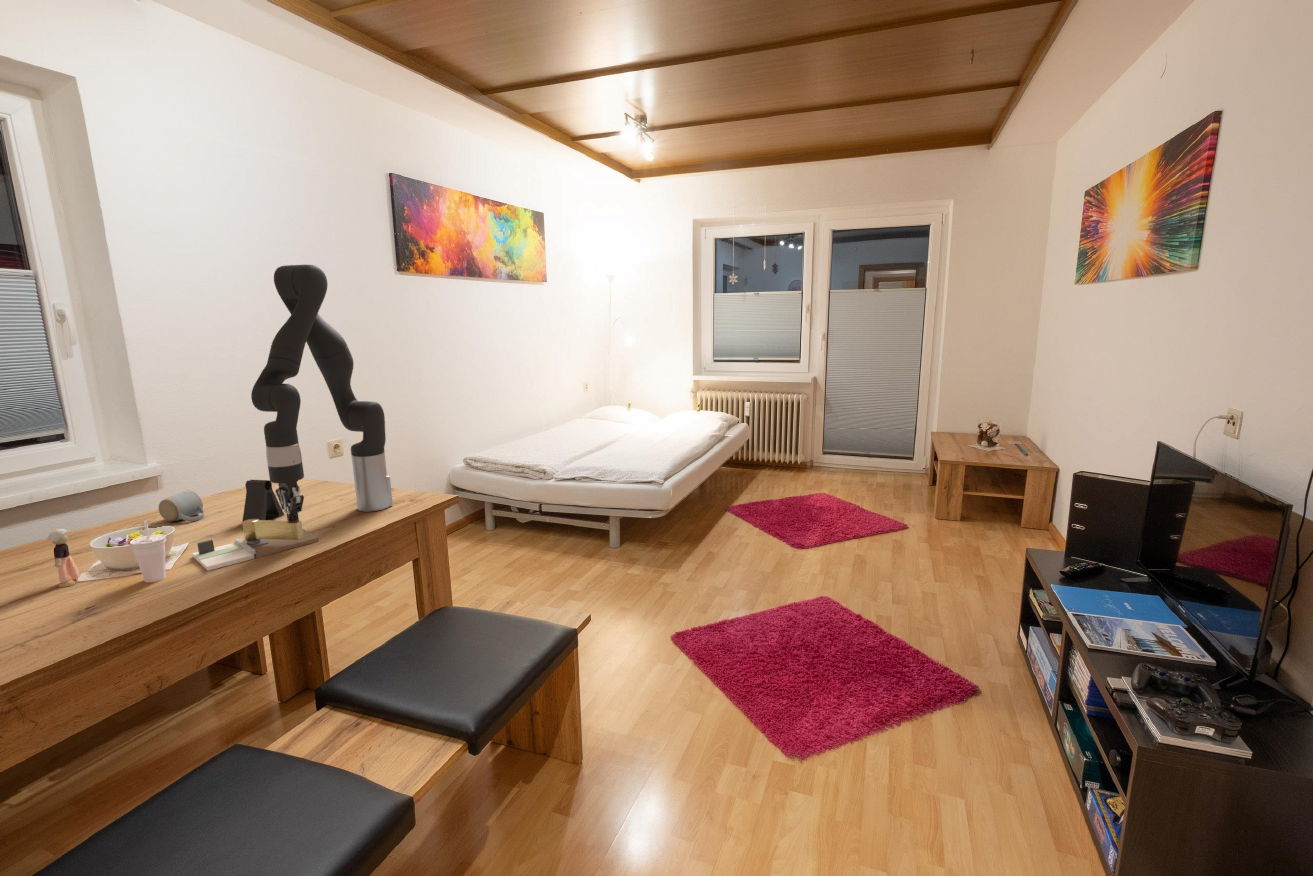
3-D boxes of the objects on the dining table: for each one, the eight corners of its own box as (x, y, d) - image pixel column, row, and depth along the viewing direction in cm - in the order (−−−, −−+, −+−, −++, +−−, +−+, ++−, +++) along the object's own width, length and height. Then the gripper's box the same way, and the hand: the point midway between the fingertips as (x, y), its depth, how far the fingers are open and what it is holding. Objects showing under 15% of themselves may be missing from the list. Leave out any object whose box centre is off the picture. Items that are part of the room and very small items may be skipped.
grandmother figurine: (81, 584, 135) (69, 531, 132) (57, 590, 132) (44, 535, 130) (80, 574, 140) (69, 522, 138) (57, 579, 138) (45, 527, 135)
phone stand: (260, 525, 172) (254, 485, 170) (242, 524, 173) (235, 484, 171) (284, 515, 181) (279, 476, 178) (266, 514, 182) (261, 475, 179)
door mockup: (300, 530, 168) (298, 517, 167) (318, 541, 160) (317, 527, 159) (192, 556, 150) (190, 542, 149) (207, 570, 142) (205, 555, 141)
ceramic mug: (158, 522, 176) (153, 496, 174) (185, 513, 184) (181, 488, 182) (187, 525, 173) (183, 499, 172) (213, 516, 181) (210, 491, 180)
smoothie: (143, 587, 133) (131, 527, 130) (132, 581, 136) (120, 522, 134) (178, 576, 138) (167, 519, 136) (166, 570, 142) (155, 514, 139)
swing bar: (241, 540, 154) (238, 523, 153) (252, 535, 157) (249, 518, 156) (296, 542, 152) (293, 524, 151) (305, 536, 156) (303, 519, 155)
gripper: (311, 463, 151) (319, 528, 155) (291, 455, 160) (300, 517, 163) (277, 469, 146) (287, 536, 149) (259, 460, 154) (268, 525, 158)
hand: (294, 526), depth 156 cm, fingers closed
